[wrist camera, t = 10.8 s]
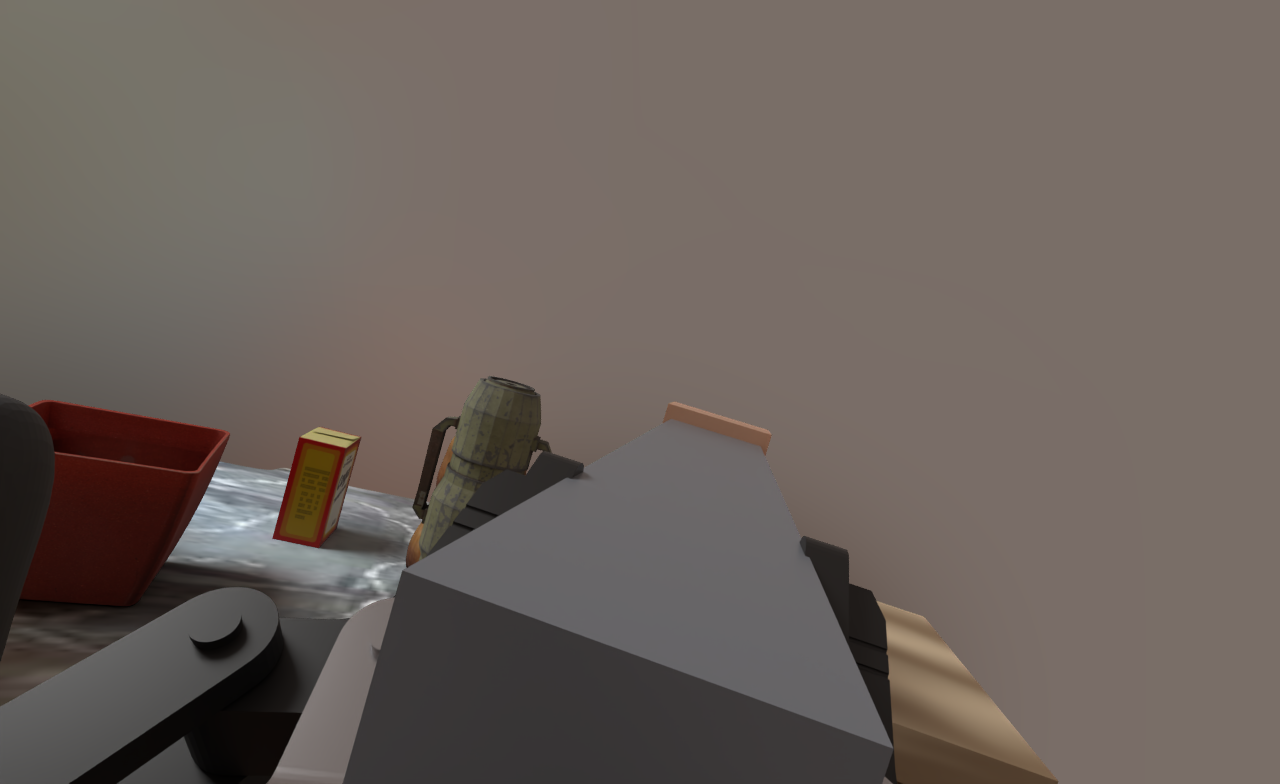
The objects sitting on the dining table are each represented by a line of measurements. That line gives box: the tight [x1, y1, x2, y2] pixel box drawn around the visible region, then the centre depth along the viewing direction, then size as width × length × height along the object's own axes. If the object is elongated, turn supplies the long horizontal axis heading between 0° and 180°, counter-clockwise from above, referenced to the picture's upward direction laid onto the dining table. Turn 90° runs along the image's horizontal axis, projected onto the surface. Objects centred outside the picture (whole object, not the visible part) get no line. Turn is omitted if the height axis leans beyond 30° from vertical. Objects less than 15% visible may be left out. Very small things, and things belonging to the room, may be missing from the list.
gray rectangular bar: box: [343, 402, 894, 784], centre depth 18 cm, size 26×5×5 cm, turn 171°
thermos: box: [412, 376, 552, 561], centre depth 64 cm, size 9×12×35 cm
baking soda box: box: [272, 427, 361, 548], centre depth 100 cm, size 10×6×16 cm
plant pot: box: [19, 400, 230, 606], centre depth 71 cm, size 19×19×17 cm
